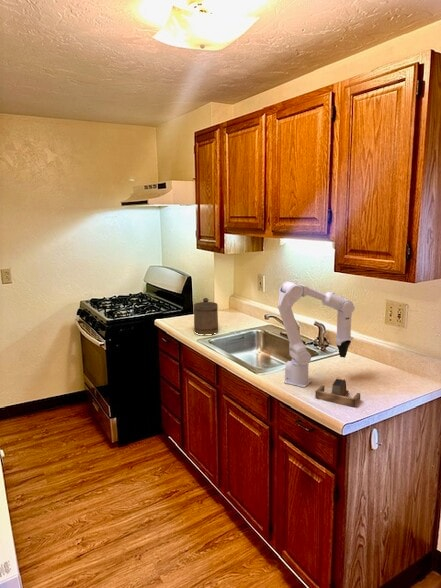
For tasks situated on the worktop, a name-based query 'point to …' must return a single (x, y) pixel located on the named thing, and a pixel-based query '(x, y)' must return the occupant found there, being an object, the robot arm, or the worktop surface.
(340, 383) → the electronic device
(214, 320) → the wooden container
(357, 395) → the cradle
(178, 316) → the worktop surface
